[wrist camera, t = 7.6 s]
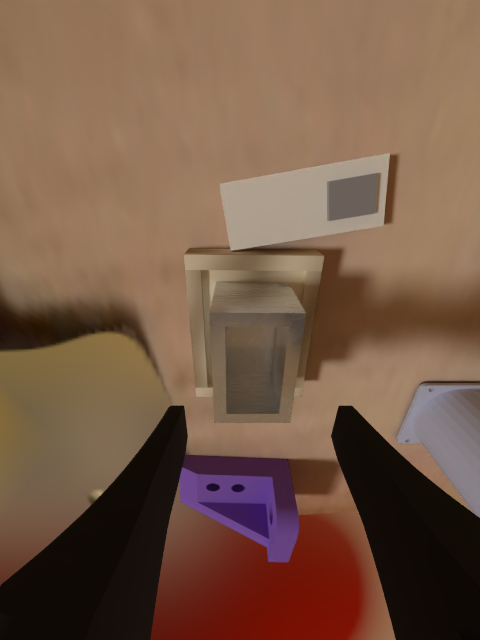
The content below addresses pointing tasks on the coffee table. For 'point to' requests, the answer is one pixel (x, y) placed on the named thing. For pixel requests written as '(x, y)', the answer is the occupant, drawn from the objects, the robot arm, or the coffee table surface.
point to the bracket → (245, 498)
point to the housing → (255, 351)
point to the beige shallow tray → (246, 267)
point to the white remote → (306, 202)
